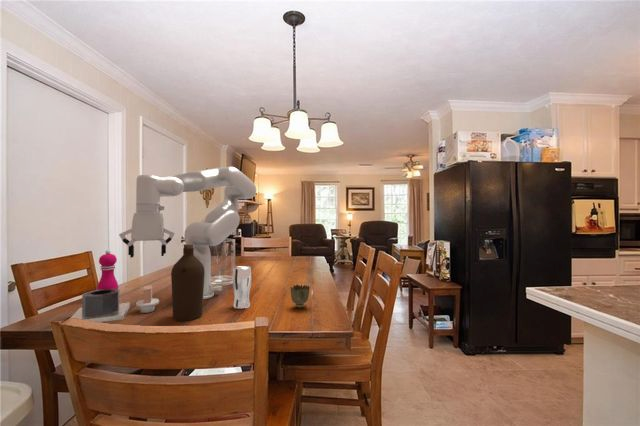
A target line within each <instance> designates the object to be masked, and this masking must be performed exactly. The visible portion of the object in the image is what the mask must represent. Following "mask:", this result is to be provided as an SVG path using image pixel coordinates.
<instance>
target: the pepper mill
mask: <svg viewBox="0 0 640 426" xmlns="http://www.w3.org/2000/svg"><path fill="white" fill-rule="evenodd" d="M117 261H118V259H117V256H116V255H115V254H112V251H111V250H110V249H108V250H105V254H102V255H101V256H99V259H98V263H99V265H100V270H101V276H100V279H99V281H98V284H97V285H96V290H99V289H118V290H119V284H118V281H117V279H116V277H115V269H116V263H117Z"/></svg>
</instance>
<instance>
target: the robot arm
mask: <svg viewBox="0 0 640 426" xmlns="http://www.w3.org/2000/svg"><path fill="white" fill-rule="evenodd" d="M135 184H136V190H135V192H136V193H135V194H136V197H135V198H136V199H135V203H136V204H135V205H136V206H135V212H134V213H133V215H132V222H131V228H130V229H128V230H127V229H126V230H125V231H123V232H121V233H119V235H118V236H119V237H120V239H121V241H122V242H123V243H124V244H125V245H126V246H128V253H127V254H128V256H129V257H130V259H131V258H134V256H135V245H134V244H135V242H139V241H143V242H144V241H159V242H160V243H161V251H160V253H161V256H162V257H164V256H165V254H167V245H168V243H170V242H171V241H172V239H173V238H174V236H175V232H173V231H170V230H169V229H166V228H165V226H164V225H165V224H164V216H163V213H162V212H161V211H165V206H163V205H161V198H163V197H167V198H168V197H169V198H170V197H177V196H180V195H182V193H188V192H190V193H192V192H202V191H207V190H210V189H215V188H219V187H224V195H223V196H224V199H223V201H222V202H221V203H220V204H218V206H216V207H215V208H214V209H212V210H211V211H209V212H208V213H207V214H206V216H205V217H204V222H202V221H200V222H198V221H197V222H192V223H190V224H188V226H187V227H186V228H185V230H184V234H183V236H184V241H185V242H184V243H185V244H193V248H194V256H195V257H196V258H197V259H198V260H199V261H200V262H201V263H202V264H203V266H204V270H205V275H204V291H203V300H206V299H210V298H213V297H214V295H215V292H216V291H218V292H219V291H221V292H222V291H223V287H222V285H212V283H211V273H212V272H211V266H212V265H211V263H212V262H211V259H212V258H211V257H212V255H211V250H210V247H215V246H217V245H218V246H219V245H220V244H221V243H223V242H224V241H225V240H226V239H228V237H229V236H230V235H231V234H232V233H234V232H235V231H236V230H237V228H238V227H239V225H240V220H241V217H240V215H239V213H238V212H239V210H240V205H239V204H240V203H239V200H247V199H248V200H249V199H252V198H254V197H255V196H256V194H257V187H256V184H255V183H254V181H252V180H251V179H250V178H249V177H248V176H247V175H246V174H244V173H243V172H242V171H240V169H238V168H236V167H234V166H224V167H215V168H208V169H202V170H194V171H190V172H189V171H188V172H185V173H181V174H179V173H178V174H174V175H168V176H157V175H153V174H140V175H138V176H137V177H136V183H135ZM129 234H130V237H131V238H130V240H129V239H128V238H127V237H126V236H127V235H129ZM165 234H168V235H169V236H168V237H167V238H166V239H165V238H164V237H165Z"/></svg>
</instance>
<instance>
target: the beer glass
mask: <svg viewBox="0 0 640 426" xmlns="http://www.w3.org/2000/svg"><path fill="white" fill-rule="evenodd" d="M251 285H252V267H251V266H249V265H240V266H239V265H237V266H234V267H233V268H232V287H233V288H232V289H233V294H234V300H233V306H232V307H233V308H234V309H236V310H237V309H238V310H243V309H244V308H245V309H248V308H250V306H251V304H250V291H251ZM245 309H244V310H245Z"/></svg>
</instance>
